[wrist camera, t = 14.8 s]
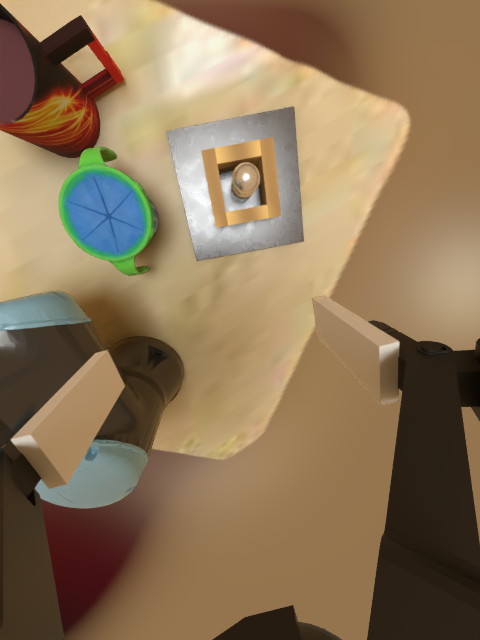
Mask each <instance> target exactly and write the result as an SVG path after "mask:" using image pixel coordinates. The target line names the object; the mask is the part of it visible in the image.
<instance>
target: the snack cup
mask: <svg viewBox="0 0 480 640" xmlns="http://www.w3.org/2000/svg"><path fill="white" fill-rule="evenodd" d="M116 158H117V155H116V154H115V152H113V151H112V150H110V149H108V148H105V147H95V148H88V149H86V150H84V151H83V152H82V154H81V156H80V160H79V167H78V170H76V171H75V172H73V173H72V174H71V175H70V176H69V177H68V178H67V179H66V180H65V182H64V184H63V186H62V188H61V191H60V195H59V212H60V217H61V220H62V223H63V225H64V227H65V229H66V231H67V233H68V234H69V236H70V237H71V238H72V240H73V241H74V242H75V243H76V244H77V246H79V247H80V248H81V249H83V250H84V251H85V252H87V253H89V254H90V255H92V256H94V257H97V258H99V259H103V260H108V261H110V262H111V263H112V264H113V265H114V266H115V267H116V268H117V269H118V270H119V271H121V272H122V273H124V274H126V275H128V276H132V275H137V274H143V273H145V272H147V271H148V270H149V267H148V266H143V267H137V268H136V267H135V262H134V258H135V256H136V255H137V254H139V253H140V252H141V251H142V250H143V249H144V248H145V247H146V246H147V244H148V243H149V241H150V240H151V239H152V237H153V236H154V234H155V233H156V231H157V229H158V225H159V224H158V214H157V211H156V209H155V206H154V204H153V203H152V202H151V201H150V199H149V198H148V197H147V196H146V194H145V192H144V190H143V188H142V187H141V186H140V184H139V183H138V182H137V181H134V180H133V179H131V178H130V177H129V176H127V175H126V174H124V173H122V172H121V171H119V170H116V169H114V168H111V167H108V166H107V165H106V164H105V163H104V162H107V161H112V160H114V159H116Z"/></svg>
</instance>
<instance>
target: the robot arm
mask: <svg viewBox="0 0 480 640" xmlns="http://www.w3.org/2000/svg"><path fill="white" fill-rule="evenodd" d="M312 300H313V307H314V315H315V323H316V331H317V338H318V339H319V340H320V341H321V342H322V343H323V344H324V345H325V346H326V347H327V348H328V349H329V350H330V352H331V353H332V354H333V355H334V356H335V357H336V358H337V359H338V360H339V361H340V362H341V363H342V364H343V365H344V367H345V368H346V369H347V370H348V371H349V372H350V373H351V374H352V375H353V376H354V377H355V378H356V379H357V380H358V382H359V383H360V384H361V385H362V386H363V387H364V388H365V389H366V390H367V391H368V392H369V393H370V394H371V395H372V396H373V398H374V399H375V400H376V401H377V402H378V403H379V404H380V405H383V404H387V403H392V402H395V401H399V389H400V390H401V391H402V399H401V407H400V415H399V422H398V430H397V438H396V446H395V454H394V462H393V469H392V478H391V486H390V493H389V501H388V509H387V518H386V524H385V531H384V534H383V535H382V538H381V543H380V549H379V557H378V563H377V571H376V578H375V585H374V593H373V600H372V607H371V615H370V623H369V630H368V637H367V640H480V543H479V536H478V528H477V521H476V514H475V506H474V499H473V491H472V484H471V476H470V469H469V462H468V454H467V447H466V440H465V433H464V425H463V418H462V410H461V407H471V408H472V409H473V411H474V413H475V414H476V416H477V418H478V419H479V421H480V339H478V340H477V342H476V347H475V350H462V351H453V350H452V349H451V348H450V347H448V346H447V345H445V344H442V343H438V342H432V341H420V342H417V341H415V340H413V339H411V338H410V337H408V336H406V335H404V334H403V333H401V332H398V331H397V330H395V329H394V328H391V327H390V326H388V325H386V324H385V323H382V322H378V321H369V322H367V321H365V320H364V319H362V318H360V317H359V316H357V315H355V314H354V313H352V312H351V311H349V310H347V309H346V308H344V307H342V306H340V305H339V304H337V303H336V302H334V301H333V300H331V299H329V298H328V297H326V296H320V297H316V298H312ZM91 322H92V320H91V319H90V318H88V317H87V316H86V314H85V313H84V312H83V310H82V309H81V307H80V306H79V305H78V303H77V302H76V301H75V299H74V298H73V297H72V296H71V295H69V294H67V293H64V292H61V291H50V292H44V293H39V294H34V295H30V296H25V297H21V298H17V299H13V300H9V301H4V302H0V640H64V635H63V630H62V624H61V618H60V612H59V606H58V600H57V594H56V588H55V582H54V576H53V571H52V565H51V559H50V553H49V547H48V541H47V535H46V529H45V523H44V517H43V512H42V506H41V500H40V498H42V499H43V500H45V501H48V502H50V503H54V504H56V505H60V506H65V507H73V508H95V507H101V506H105V505H109V504H112V503H115V502H117V501H119V500H121V499H122V498H124V497H125V496H127V495H128V494H129V493H130V492H131V491H132V490H133V489H134V488H135V486H136V485H137V483H138V481H139V478H140V476H141V474H142V471H143V469H144V467H145V465H146V464H147V462H148V457H149V454H150V451H151V448H152V445H153V441H154V438H155V435H156V432H157V429H158V426H159V423H160V419H161V416H162V413H163V410H164V409H165V408H166V406H167V405H168V403H170V402H171V401H172V400H173V399H174V398H175V397H176V395H177V394H178V392H179V390H180V388H181V385H182V382H183V378H184V368H183V364H182V361H181V359H180V357H179V356H178V354H177V353H176V352H175V351H174V350H173V349H172V348H171V347H170V346H168V345H167V344H165V343H164V342H162V341H160V340H157V339H154V338H150V337H131V338H128V339H125V340H122V341H120V342H119V343H117V344H116V345H115V346H114V347H113V348H112V349H111V350H110V351H109V350H108V348H107V347H106V345H105V344H104V342H103V340H102V339H101V337H100V336H99V334H98V333H97V331H96V329H95V328H94V326H93V324H92V323H91ZM5 444H6V445H5ZM4 445H5V446H4ZM2 446H4V447H3V448H1V447H2ZM213 640H342V639H340V638H339V637H337V636H336V635H334V634H332V633H330V632H329V631H327V630H325V629H323V628H320V627H318V626H315V625H312V624H308V623H302V622H298V620H297V616H296V613H295V610H294V607H293V605H292V606H288V607H284V608H280V609H276V610H272V611H268V612H264V613H260V614H256V615H252V616H248V617H245V618H243V619H242V620H240V621H239V622H238V623H236V624H235V625H233V626H232V627H230V628H229V629H227V630H226V631H224V632H223V633H222V634H220V635H219V636H217V637H216V638H214V639H213Z"/></svg>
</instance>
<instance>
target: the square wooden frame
mask: <svg viewBox="0 0 480 640" xmlns="http://www.w3.org/2000/svg"><path fill="white" fill-rule="evenodd" d="M201 153H202V158H203V163H204V169H205V174H206V179H207V184H208V189H209V195H210V200H211V205H212V210H213V215H214V221H215V226H216V228H218V227H223V226H229V225H234V224H240V223H245V222H251V221H256V220H262V219H267V218H273V217H278V216H281V211H280V201H279V190H278V180H277V170H276V159H275V149H274V139H273V137H271V138H265V139H260V140H255V141H249V142H244V143H238V144H233V145H228V146H222V147H217V148H211V149H206V150H201ZM244 162H249V163H252V164H253V165H255V166H256V167H257V169H258V171H259V173H260V183H259V186H258V187H259V195H260V203H261V206H257V207H251V208H246V209H240V210H235V211H229V212H226V210H225V205H224V199H223V193H222V187H221V182H220V176H219V173H224V172H230V171H234V169H235V168H236V167H237V166H238V165H239V164H241V163H244Z"/></svg>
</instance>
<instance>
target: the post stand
mask: <svg viewBox="0 0 480 640" xmlns="http://www.w3.org/2000/svg"><path fill="white" fill-rule="evenodd" d="M167 135H168V139H169V144H170V148H171V152H172V156H173V161H174V165H175V169H176V174H177V178H178V182H179V186H180V191H181V195H182V199H183V203H184V208H185V212H186V216H187V220H188V225H189V229H190V233H191V237H192V242H193V246H194V250H195V254H196V259H197V261H199V260H204V259H210V258H215V257H221V256H226V255H231V254H237V253H242V252H248V251H253V250H259V249H264V248H269V247H275V246H280V245H286V244H291V243H296V242H302V241H304V237H303V223H302V210H301V196H300V182H299V168H298V154H297V140H296V126H295V112H294V107H289V108H284V109H279V110H273V111H268V112H263V113H258V114H253V115H247V116H242V117H237V118H232V119H227V120H221V121H216V122H211V123H206V124H201V125H195V126H190V127H185V128H180V129H175V130H170V131H167ZM271 137H273V139H274V149H275V159H276V170H277V180H278V190H279V201H280V211H281V216H278V217H273V218H267V219H262V220H256V221H251V222H245V223H240V224H234V225H229V226H223V227H218V228H216V226H215V221H214V215H213V210H212V205H211V200H210V195H209V189H208V184H207V179H206V174H205V169H204V163H203V158H202V153H201V150H206V149H211V148H217V147H222V146H228V145H233V144H238V143H244V142H249V141H255V140H260V139H265V138H271ZM219 176H220V182H221V187H222V193H223V199H224V205H225V210H226V212H229V211H235V210H240V209H246V208H251V207H257V206H261V203H260V195H259V187H258V186H259V183H260V173H259V171H258V169H257V167H256V166H255V165H253V164H252V163H249V162H244V163H241V164H239V165H238V166H237V167H236V168H235V169H234V171H230V172H224V173H219Z"/></svg>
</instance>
